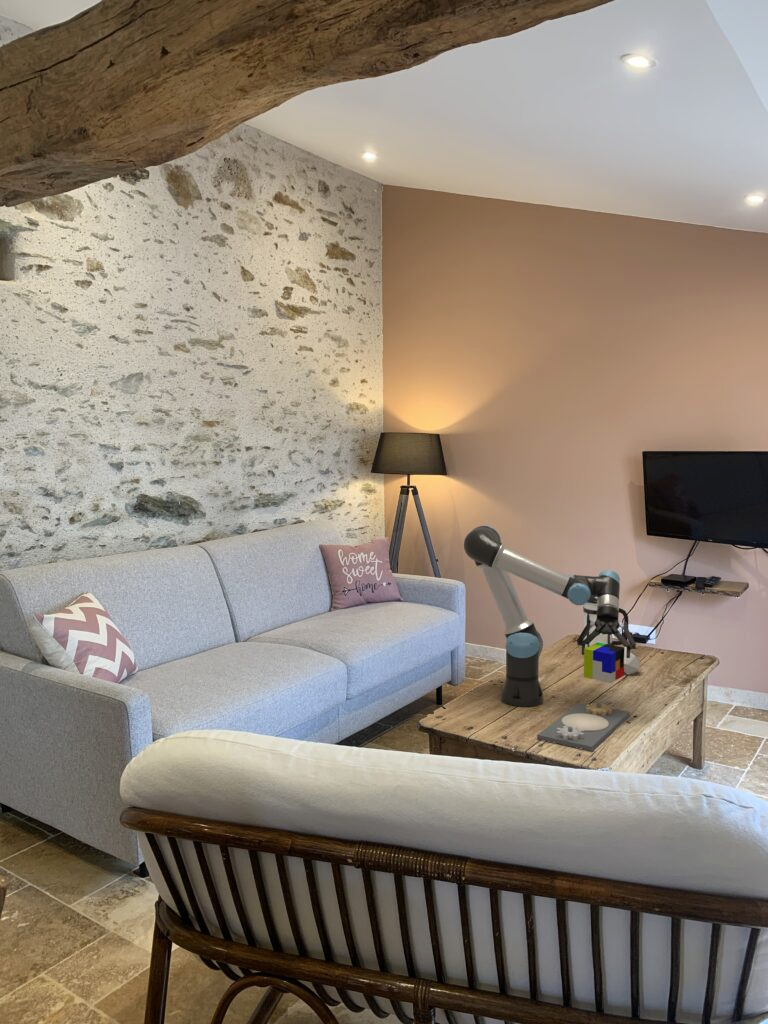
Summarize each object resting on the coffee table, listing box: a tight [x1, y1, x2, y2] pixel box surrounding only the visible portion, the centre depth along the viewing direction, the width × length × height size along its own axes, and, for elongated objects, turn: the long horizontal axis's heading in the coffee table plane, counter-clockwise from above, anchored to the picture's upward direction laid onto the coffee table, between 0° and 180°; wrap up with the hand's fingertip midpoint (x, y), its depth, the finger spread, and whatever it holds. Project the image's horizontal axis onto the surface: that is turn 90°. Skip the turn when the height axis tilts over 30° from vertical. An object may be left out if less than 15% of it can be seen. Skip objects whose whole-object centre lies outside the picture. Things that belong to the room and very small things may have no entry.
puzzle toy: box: [583, 643, 625, 684], centre depth 281 cm, size 10×10×10 cm
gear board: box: [536, 702, 630, 752], centre depth 270 cm, size 36×18×4 cm, turn 146°
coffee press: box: [582, 597, 629, 647], centre depth 352 cm, size 17×16×30 cm
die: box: [624, 652, 642, 676], centre depth 327 cm, size 8×9×10 cm
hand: (605, 664), depth 280 cm, fingers closed on puzzle toy, 12 cm apart
